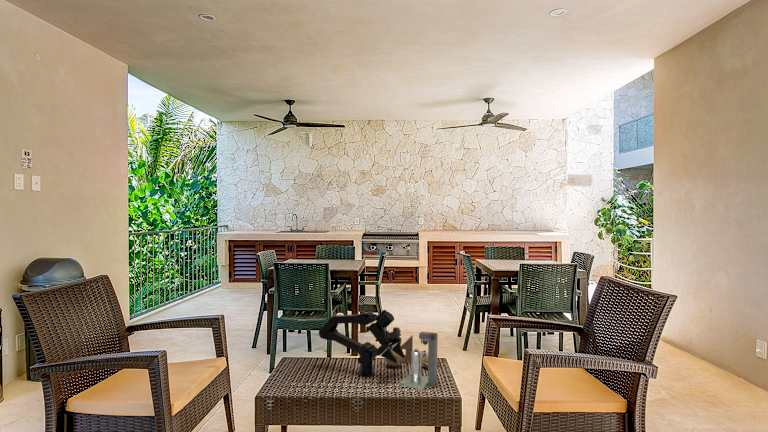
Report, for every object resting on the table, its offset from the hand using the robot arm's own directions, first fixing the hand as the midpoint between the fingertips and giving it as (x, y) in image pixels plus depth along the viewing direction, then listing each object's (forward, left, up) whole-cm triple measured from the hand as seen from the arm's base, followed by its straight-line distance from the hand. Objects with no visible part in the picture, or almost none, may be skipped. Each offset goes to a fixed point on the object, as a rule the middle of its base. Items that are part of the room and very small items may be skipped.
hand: (400, 359), depth 214 cm
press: (+10, +3, -9) cm, 14 cm away
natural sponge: (-18, +8, -10) cm, 22 cm away
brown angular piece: (-23, +17, -10) cm, 31 cm away
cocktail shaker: (+7, +4, -8) cm, 12 cm away
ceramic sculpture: (-10, +23, -10) cm, 27 cm away
